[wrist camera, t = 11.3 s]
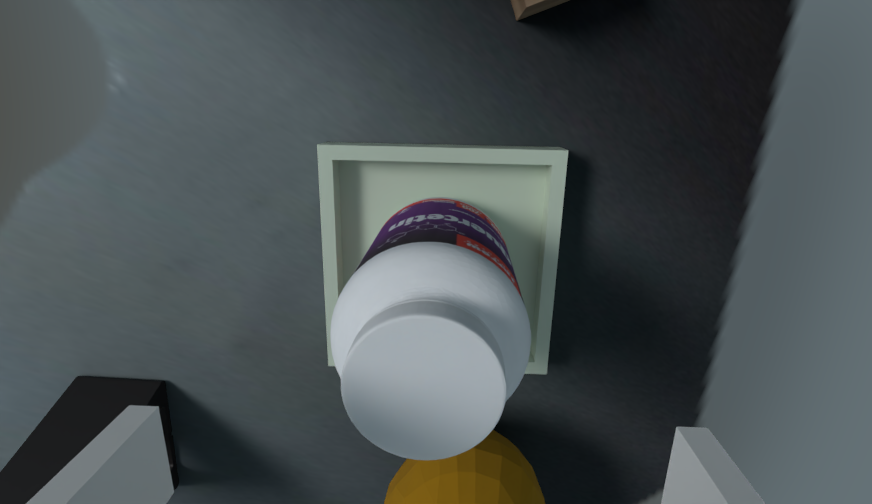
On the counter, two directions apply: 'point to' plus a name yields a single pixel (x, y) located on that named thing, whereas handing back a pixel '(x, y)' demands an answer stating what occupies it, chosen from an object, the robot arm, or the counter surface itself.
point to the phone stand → (79, 431)
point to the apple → (469, 477)
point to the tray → (454, 178)
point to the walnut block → (532, 7)
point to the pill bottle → (431, 331)
